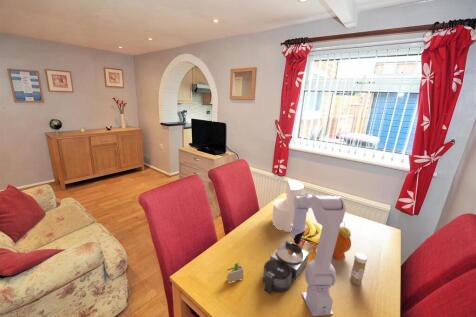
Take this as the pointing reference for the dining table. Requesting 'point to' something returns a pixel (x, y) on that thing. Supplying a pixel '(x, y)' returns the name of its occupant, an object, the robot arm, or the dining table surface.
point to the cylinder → (286, 206)
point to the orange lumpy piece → (342, 243)
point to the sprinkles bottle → (358, 268)
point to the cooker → (281, 273)
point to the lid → (290, 253)
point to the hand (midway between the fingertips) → (296, 243)
